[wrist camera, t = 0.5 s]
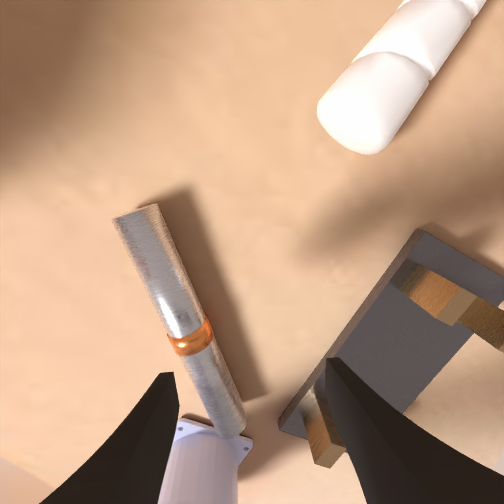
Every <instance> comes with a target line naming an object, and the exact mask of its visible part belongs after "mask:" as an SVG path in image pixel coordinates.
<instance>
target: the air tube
mask: <svg viewBox="0 0 504 504" xmlns="http://www.w3.org/2000/svg"><path fill="white" fill-rule="evenodd" d="M111 221H112V223H113V225H114V227H115V229H116V231H117V233H118V235H119V237H120V239H121V241H122V243H123V245H124V247H125V249H126V251H127V253H128V255H129V257H130V259H131V261H132V263H133V265H134V267H135V269H136V271H137V273H138V275H139V277H140V279H141V281H142V283H143V285H144V287H145V289H146V291H147V293H148V295H149V297H150V299H151V301H152V303H153V305H154V307H155V309H156V311H157V313H158V315H159V317H160V319H161V321H162V323H163V325H164V327H165V329H166V331H167V336H168V338H169V340H170V342H171V344H172V346H173V348H174V350H175V352H176V354H177V355H179V357H180V359H181V361H182V363H183V365H184V367H185V369H186V371H187V373H188V375H189V377H190V379H191V381H192V383H193V385H194V387H195V389H196V391H197V393H198V395H199V397H200V399H201V401H202V403H203V405H204V407H205V409H206V411H207V413H208V415H209V417H210V419H211V421H212V423H213V425H214V427H215V429H216V431H217V433H218V435H219V436H220V437H222V438H225V439H231V438H234V437H236V436H238V435H239V434H240V433H241V432H242V431H243V430H244V429H245V427H246V425H247V422H248V414H247V412H246V409H245V407H244V405H243V402H242V400H241V398H240V395H239V393H238V391H237V388H236V386H235V384H234V381H233V379H232V377H231V374H230V372H229V370H228V367H227V365H226V363H225V360H224V358H223V356H222V353H221V351H220V349H219V346H218V344H217V342H216V339H215V337H214V332H213V329H212V327H211V324H210V322H209V320H208V317H207V315H206V314H205V313H204V311H203V309H202V307H201V304H200V302H199V300H198V297H197V295H196V293H195V290H194V288H193V286H192V283H191V281H190V279H189V276H188V274H187V272H186V269H185V267H184V265H183V262H182V260H181V258H180V255H179V253H178V251H177V248H176V246H175V244H174V241H173V239H172V237H171V234H170V232H169V230H168V227H167V225H166V223H165V221H164V218H163V216H162V214H161V211H160V209H159V207H158V204H157V203H155V204H151V205H147V206H144V207H141V208H138V209H135V210H132V211H129V212H127V213H124V214H121V215H119V216H116V217H114V218H112V219H111Z"/></svg>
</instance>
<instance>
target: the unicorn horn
mask: <svg viewBox="0 0 504 504" xmlns="http://www.w3.org/2000/svg"><path fill="white" fill-rule="evenodd" d="M486 1H487V0H404V1H403V2H402V4H401V5H400V6H399V7H398V9H397V11H396V12H395V13H394V14H393V15H392V16H391V17H390V18H389V19H388V20H387V21H386V22H385V24H384V25H383V26H382V27H381V28H380V29H379V31H378V32H377V33H376V34H375V35H374V37H373V38H372V39H371V40H370V41H369V42H368V43H367V45H366V46H365V47H364V48H363V49H362V50H361V52H360V53H359V54H358V55H357V56H356V57H355V59H354V60H353V62H352V63H351V64H350V65H349V66H348V67H347V68H346V69H345V70H344V71H343V73H342V74H341V75H340V76H339V77H338V79H337V80H336V81H335V82H334V83H333V84H332V86H331V87H330V88H329V89H328V90H327V91H326V92H325V94H324V95H323V96H322V98H321V99H320V101H319V102H318V108H317V116H318V119H319V121H320V123H321V125H322V126H323V127H324V129H325V130H326V131H327V133H328V134H329V135H331V136H332V137H333V138H334V139H335V140H336V141H337V142H339V143H340V144H342V145H343V146H345V147H346V148H348V149H350V150H352V151H354V152H356V153H360V154H364V155H371V154H376V153H379V152H381V151H382V150H383V149H384V148H385V147H386V146H387V145H388V144H389V142H390V141H391V140H392V139H393V138H394V136H395V135H396V133H397V132H398V130H399V129H400V127H401V126H402V124H403V123H404V121H405V120H406V118H407V117H408V115H409V114H410V112H411V111H412V109H413V108H414V106H415V105H416V103H417V102H418V100H419V99H420V97H421V96H422V94H423V93H424V91H425V90H426V88H427V87H428V85H429V81H428V80H431V79H432V78H433V77H434V76H435V75H436V74H437V72H438V71H439V69H440V68H441V66H442V65H443V63H444V62H445V61H446V59H447V58H448V56H449V55H450V53H451V52H452V50H453V49H454V48H455V46H456V45H457V43H458V42H459V40H460V39H461V37H462V36H463V35H464V33H465V32H466V30H467V29H468V27H469V26H470V24H471V20H472V19H473V18H474V17H475V16H476V15H477V14H478V13H479V11H480V10H481V8H482V7H483V5H484V4H485V2H486Z"/></svg>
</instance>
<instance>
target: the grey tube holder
mask: <svg viewBox="0 0 504 504" xmlns="http://www.w3.org/2000/svg"><path fill="white" fill-rule="evenodd" d="M503 300H504V278H503V277H501V276H500V275H498V274H496V273H495V272H493V271H491V270H490V269H488V268H486V267H484V266H483V265H481V264H479V263H478V262H476V261H474V260H473V259H471V258H469V257H467V256H466V255H464V254H462V253H461V252H459V251H457V250H456V249H454V248H452V247H450V246H449V245H447V244H445V243H444V242H442V241H440V240H439V239H437V238H435V237H433V236H432V235H430V234H428V233H427V232H425V231H422V230H419V229H416V230H415V232H414V233H413V234H412V236H411V237H410V239H409V240H408V241H407V243H406V244H405V245H404V247H403V248H402V250H401V251H400V252H399V254H398V255H397V257H396V258H395V259H394V261H393V262H392V263H391V265H390V266H389V268H388V269H387V270H386V272H385V273H384V274H383V276H382V277H381V279H380V280H379V281H378V283H377V284H376V286H375V287H374V288H373V290H372V291H371V292H370V294H369V295H368V297H367V298H366V299H365V301H364V302H363V304H362V305H361V306H360V308H359V309H358V310H357V312H356V313H355V315H354V316H353V317H352V319H351V320H350V321H349V323H348V324H347V326H346V327H345V328H344V330H343V331H342V333H341V334H340V335H339V337H338V338H337V339H336V341H335V342H334V344H333V345H332V346H331V348H330V349H329V351H328V352H327V353H326V355H325V356H324V357H323V359H322V360H321V362H320V363H319V364H318V366H317V367H316V368H315V370H314V371H313V373H312V374H311V375H310V377H309V378H308V380H307V381H306V382H305V384H304V385H303V386H302V388H301V389H300V391H299V392H298V393H297V395H296V396H295V398H294V399H293V400H292V402H291V403H290V404H289V406H288V407H287V409H286V410H285V411H284V413H283V414H282V415H281V417H280V418H279V420H278V425H279V430H280V431H283V432H286V433H289V434H292V435H295V436H298V437H301V438H304V439H307V440H308V441H309V445H310V448H311V452H312V456H313V460H314V463H315V464H317V465H320V466H323V467H327V468H331V467H332V466H333V464H334V463H335V462H336V461H337V460H338V459H339V457H340V456H341V455H342V454H343V453H344V452H346V453H348V452H347V450H346V447H345V445H344V443H343V440H342V438H341V436H340V433H339V431H338V429H337V426H336V424H335V422H334V419H333V417H332V414H331V411H330V408H329V405H328V402H327V399H326V395H325V392H324V390H325V368H326V358H332V357H339V358H340V359H341V360H342V361H343V362H344V363H345V364H346V365H347V366H348V367H349V368H350V369H352V370H353V371H354V372H355V373H356V374H357V375H358V376H359V377H360V378H361V379H362V380H363V381H364V382H365V383H366V384H367V385H368V386H369V387H370V388H372V389H373V390H374V391H375V392H376V393H377V394H378V395H379V396H381V397H382V398H383V399H384V400H385V401H386V402H388V403H389V404H390V405H391V406H392V407H394V408H395V409H396V410H397V411H399V412H400V413H401V414H402V413H403V412H404V411H405V410H406V409H407V407H408V406H409V405H410V404H411V403H412V402H413V401H414V400H415V399H416V397H417V396H418V395H419V394H420V393H421V392H422V391H423V390H424V388H425V387H426V386H427V385H428V384H429V383H430V382H431V381H432V379H433V378H434V377H435V376H436V375H437V374H438V373H439V372H440V371H441V369H442V368H443V367H444V366H445V365H446V364H447V363H448V362H449V360H450V359H451V358H452V357H453V356H454V355H455V354H456V353H457V351H458V350H459V349H460V348H461V347H462V346H463V345H464V344H465V343H466V341H467V340H468V339H469V338H470V337H471V336H472V335H473V334H474V333H475V334H477V335H478V336H480V337H481V338H482V339H484V340H485V341H487V342H488V343H489V344H491V345H492V346H494V347H495V348H496V349H498V350H500V351H502V352H504V311H503V310H501V309H500V308H498V306H499V304H500V303H501V302H502V301H503Z"/></svg>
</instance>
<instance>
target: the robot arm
mask: <svg viewBox="0 0 504 504" xmlns="http://www.w3.org/2000/svg"><path fill="white" fill-rule="evenodd" d="M324 392H325V395H326V399H327V402H328V405H329V408H330V411H331V414H332V417H333V419H334V422H335V424H336V426H337V429H338V431H339V433H340V436H341V438H342V440H343V443H344V445H345V447H346V450H347V452H348V454H349V457H350V459H351V461H352V463H353V466H354V468H355V471H356V473H357V476H358V478H359V481H360V484H361V487H362V490H363V493H364V496H365V499H366V502H367V504H504V476H503V475H501V474H499V473H497V472H495V471H493V470H491V469H489V468H487V467H485V466H483V465H482V464H480V463H478V462H476V461H474V460H473V459H471V458H469V457H467V456H465V455H464V454H462V453H460V452H458V451H457V450H455V449H453V448H452V447H450V446H448V445H447V444H445V443H444V442H442V441H440V440H439V439H437V438H436V437H434V436H433V435H431V434H430V433H428V432H426V431H425V430H424V429H422V428H421V427H419V426H418V425H416V424H415V423H414V422H412V421H411V420H409V419H408V418H407V417H405V416H404V415H403V414H401V413H400V412H399V411H397V410H396V409H395V408H394V407H392V406H391V405H390V404H389V403H388V402H386V401H385V400H384V399H383V398H382V397H381V396H379V395H378V394H377V393H376V392H375V391H374V390H373V389H372V388H370V387H369V386H368V385H367V384H366V383H365V382H364V381H363V380H362V379H361V378H360V377H359V376H358V375H357V374H356V373H355V372H354V371H353V370H352V369H350V368H349V367H348V366H347V365H346V364H345V363H344V362H343V361H342V360H341V359H340V358H339V357H332V358H326V368H325V390H324ZM179 406H180V405H179V400H178V394H177V389H176V383H175V378H174V372H165V373H160V374H159V375H158V376H157V377H156V379H155V380H154V382H153V383H152V384H151V386H150V387H149V388H148V390H147V391H146V393H145V394H144V395H143V397H142V398H141V399H140V401H139V402H138V403H137V404H136V406H135V407H134V408H133V410H132V411H131V412H130V413H129V415H128V416H127V417H126V418H125V419H124V421H123V422H122V423H121V424H120V425H119V427H118V428H117V429H116V430H115V431H114V432H113V434H112V435H111V436H110V437H109V438H108V439H107V440H106V441H105V443H104V444H103V445H102V446H101V447H100V448H99V449H98V450H97V451H96V452H95V453H94V454H93V455H92V456H91V457H90V458H89V459H88V460H87V461H86V462H85V463H84V464H83V465H82V466H81V467H80V468H79V469H78V470H77V471H76V472H75V473H74V474H72V475H71V476H70V477H69V478H68V479H67V480H66V481H65V482H64V483H63V484H62V485H61V486H59V487H58V488H57V489H56V490H55V491H54V492H52V493H51V494H50V495H49V496H48V497H47V498H46V499H44V500H43V501H42V502H41V503H39V504H238V485H237V468H238V467H239V465H240V464H241V462H242V461H243V460H244V458H245V457H246V455H247V454H248V453H249V451H250V450H251V448H252V447H253V440H252V439H249V438H246V437H243V436H240V435H238V436H236V437H234V438H231V439H225V438H222V437H220V436H219V435H218V433H217V431H216V429H215V427H211V426H208V425H205V424H202V423H199V422H196V421H193V420H189V419H186V418H181V419H179V420H178V413H179ZM177 420H178V422H177Z"/></svg>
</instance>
